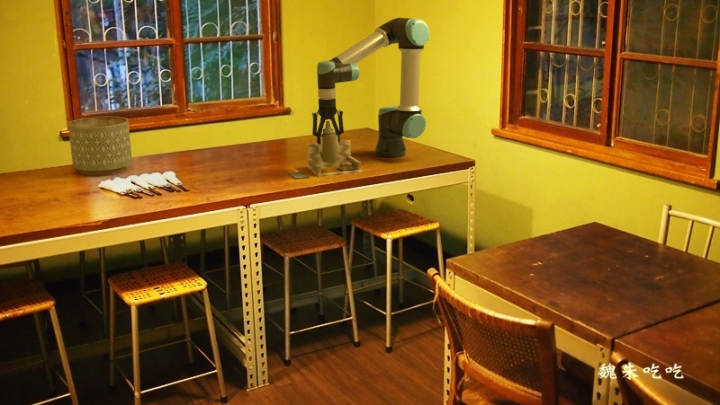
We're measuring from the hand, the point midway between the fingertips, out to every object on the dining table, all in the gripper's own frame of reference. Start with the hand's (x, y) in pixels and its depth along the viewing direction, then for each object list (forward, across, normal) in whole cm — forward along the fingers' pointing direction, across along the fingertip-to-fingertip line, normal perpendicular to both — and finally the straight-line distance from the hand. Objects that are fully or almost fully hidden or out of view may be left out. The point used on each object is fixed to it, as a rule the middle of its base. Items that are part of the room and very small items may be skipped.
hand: (328, 150), depth 348 cm
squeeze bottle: (+5, 0, 0) cm, 5 cm away
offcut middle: (+10, -8, 0) cm, 12 cm away
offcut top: (+8, -8, 0) cm, 11 cm away
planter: (+9, +93, -43) cm, 103 cm away
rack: (+10, -2, 0) cm, 10 cm away
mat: (+10, +13, 0) cm, 16 cm away
